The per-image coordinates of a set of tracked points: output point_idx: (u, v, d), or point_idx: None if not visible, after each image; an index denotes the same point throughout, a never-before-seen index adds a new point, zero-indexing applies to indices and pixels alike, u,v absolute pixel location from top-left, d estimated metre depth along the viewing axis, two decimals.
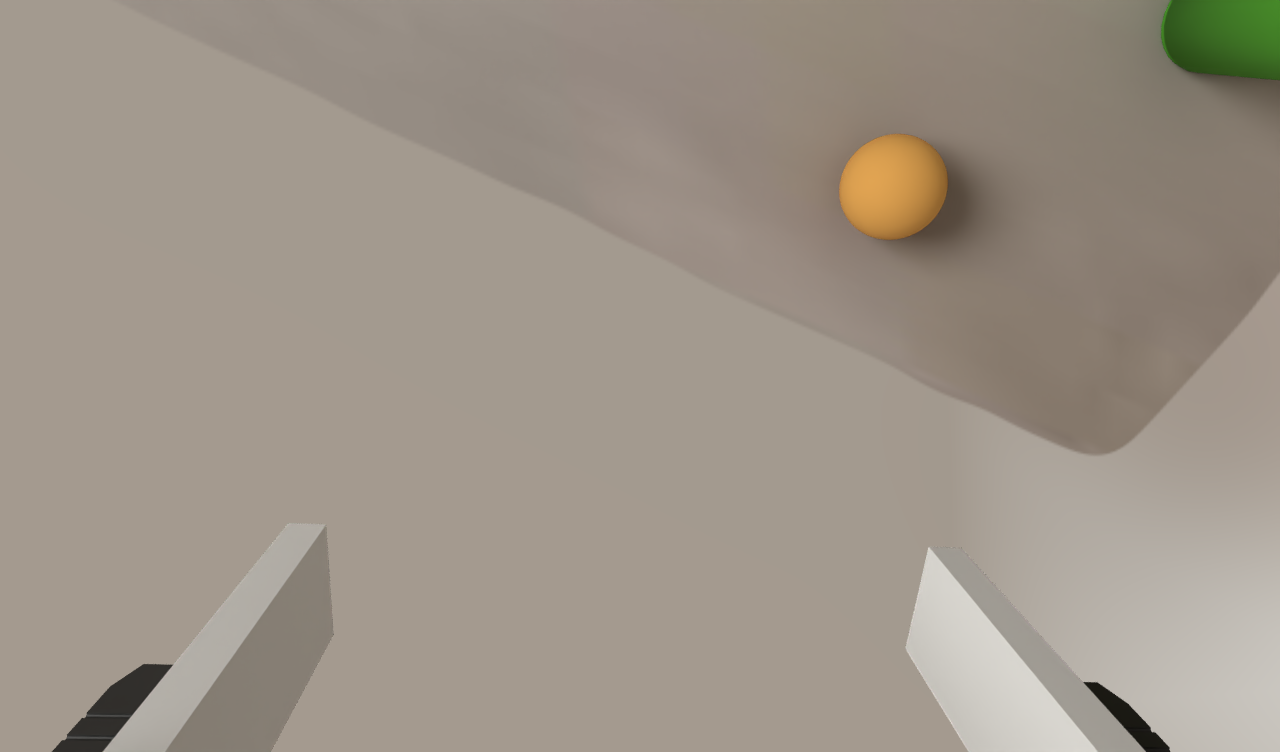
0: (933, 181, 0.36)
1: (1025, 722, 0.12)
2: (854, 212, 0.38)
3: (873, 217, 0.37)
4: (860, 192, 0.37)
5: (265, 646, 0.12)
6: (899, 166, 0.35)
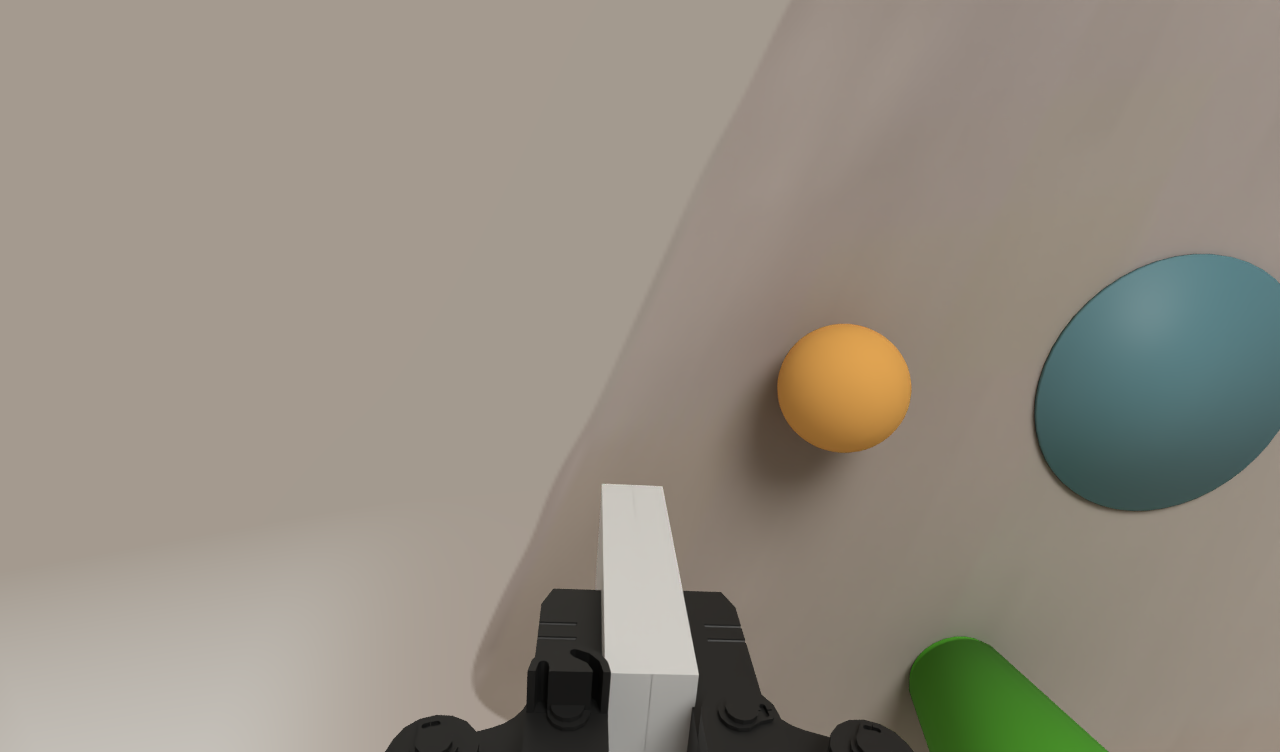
0: (871, 433, 0.28)
1: None
2: (825, 342, 0.29)
3: (826, 366, 0.28)
4: (856, 346, 0.28)
5: None
6: (893, 389, 0.28)
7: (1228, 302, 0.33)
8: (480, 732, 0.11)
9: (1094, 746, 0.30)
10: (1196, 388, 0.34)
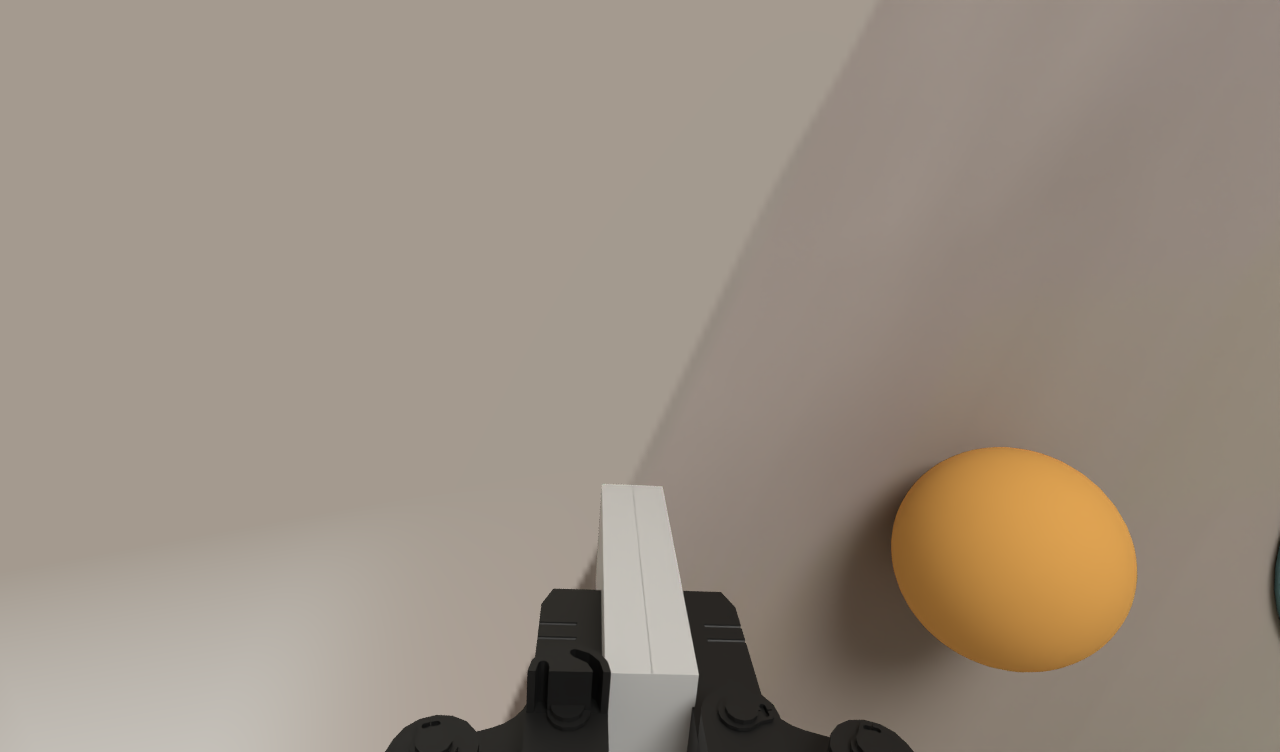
0: (1076, 656, 0.16)
1: None
2: (991, 492, 0.16)
3: (999, 540, 0.16)
4: (1052, 504, 0.16)
5: None
6: (1120, 583, 0.16)
7: None
8: (480, 732, 0.11)
9: None
10: None
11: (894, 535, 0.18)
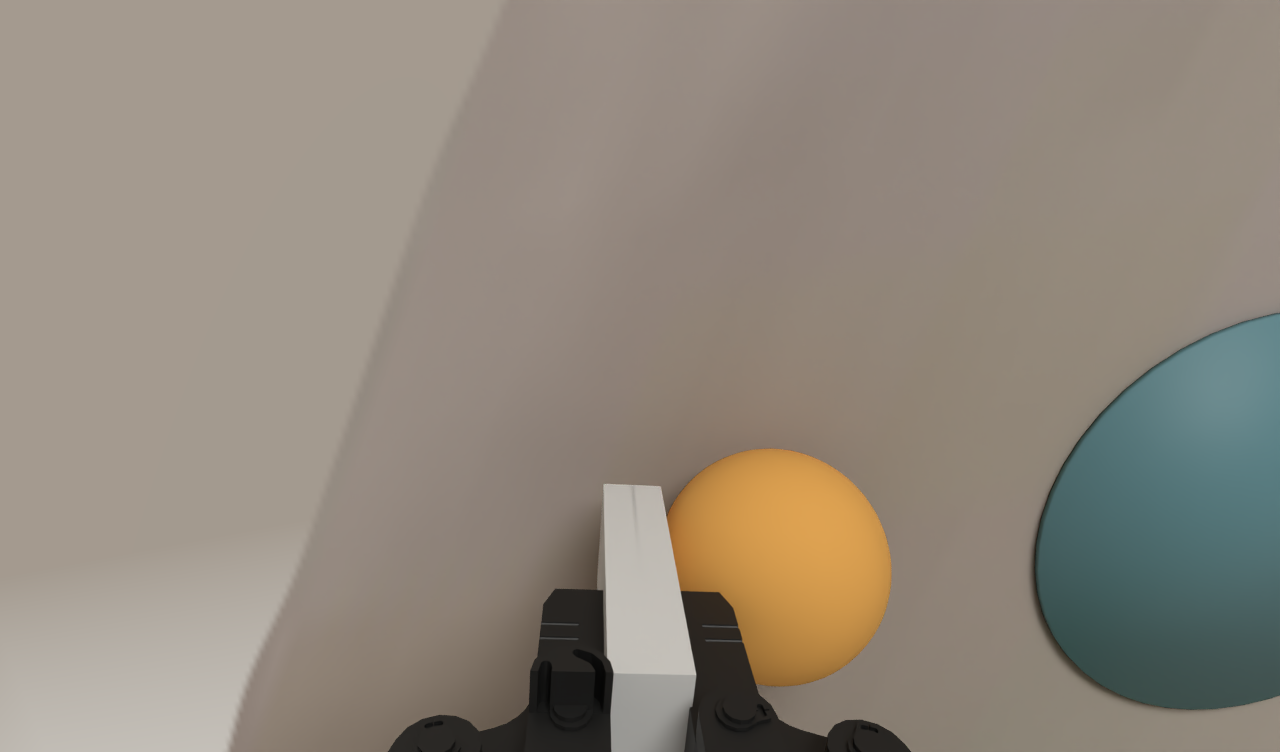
0: (848, 659, 0.16)
1: None
2: (752, 508, 0.15)
3: (766, 561, 0.15)
4: (811, 511, 0.15)
5: None
6: (880, 579, 0.15)
7: None
8: (483, 732, 0.11)
9: None
10: None
11: None
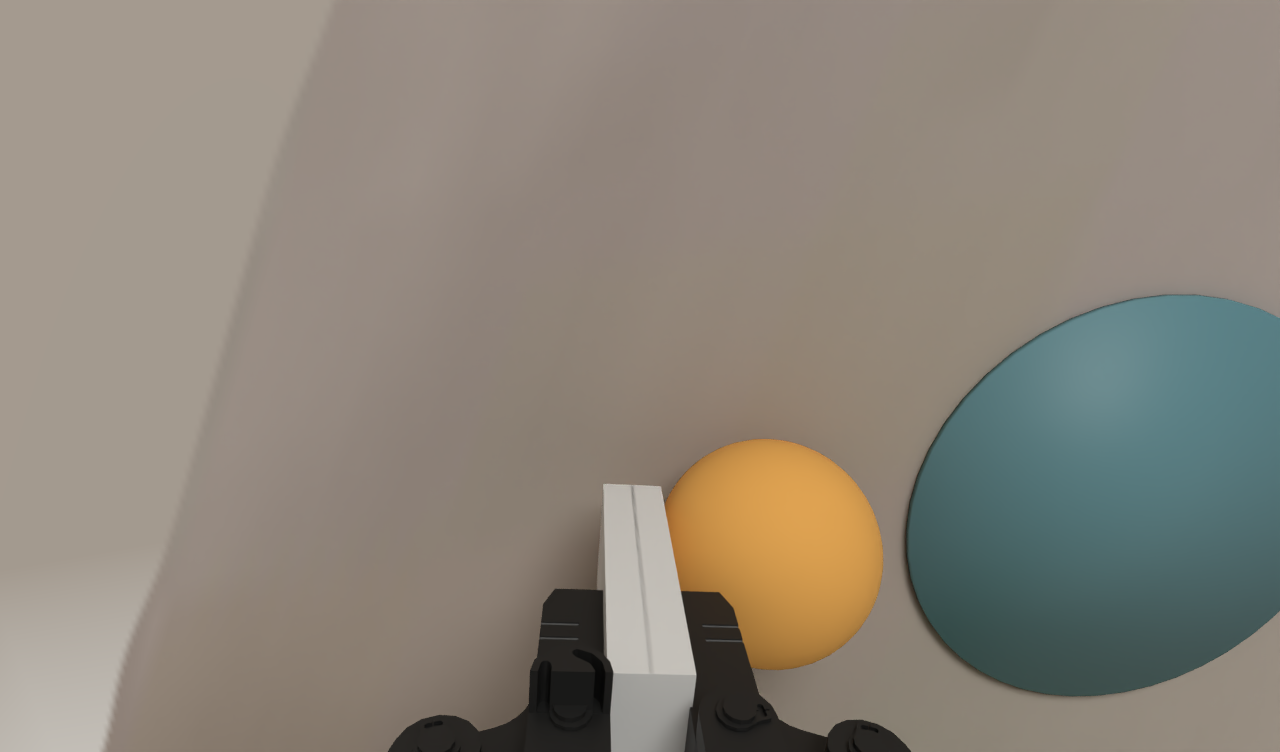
0: None
1: None
2: (777, 504, 0.15)
3: (806, 552, 0.15)
4: (827, 494, 0.16)
5: None
6: (881, 541, 0.17)
7: (1226, 375, 0.19)
8: (482, 732, 0.11)
9: None
10: (1173, 512, 0.21)
11: None
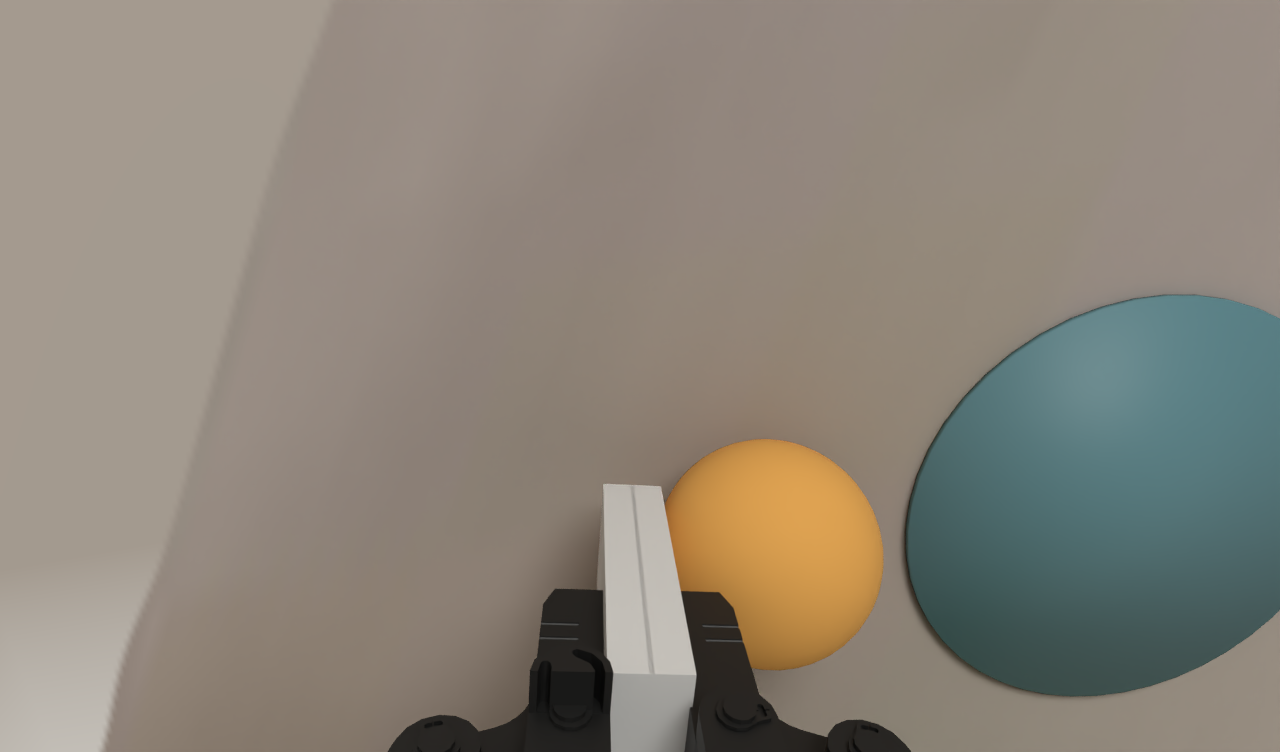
0: None
1: None
2: (777, 504, 0.15)
3: (806, 552, 0.15)
4: (827, 495, 0.16)
5: None
6: (881, 541, 0.17)
7: (1225, 375, 0.19)
8: (482, 732, 0.11)
9: None
10: (1173, 512, 0.21)
11: None
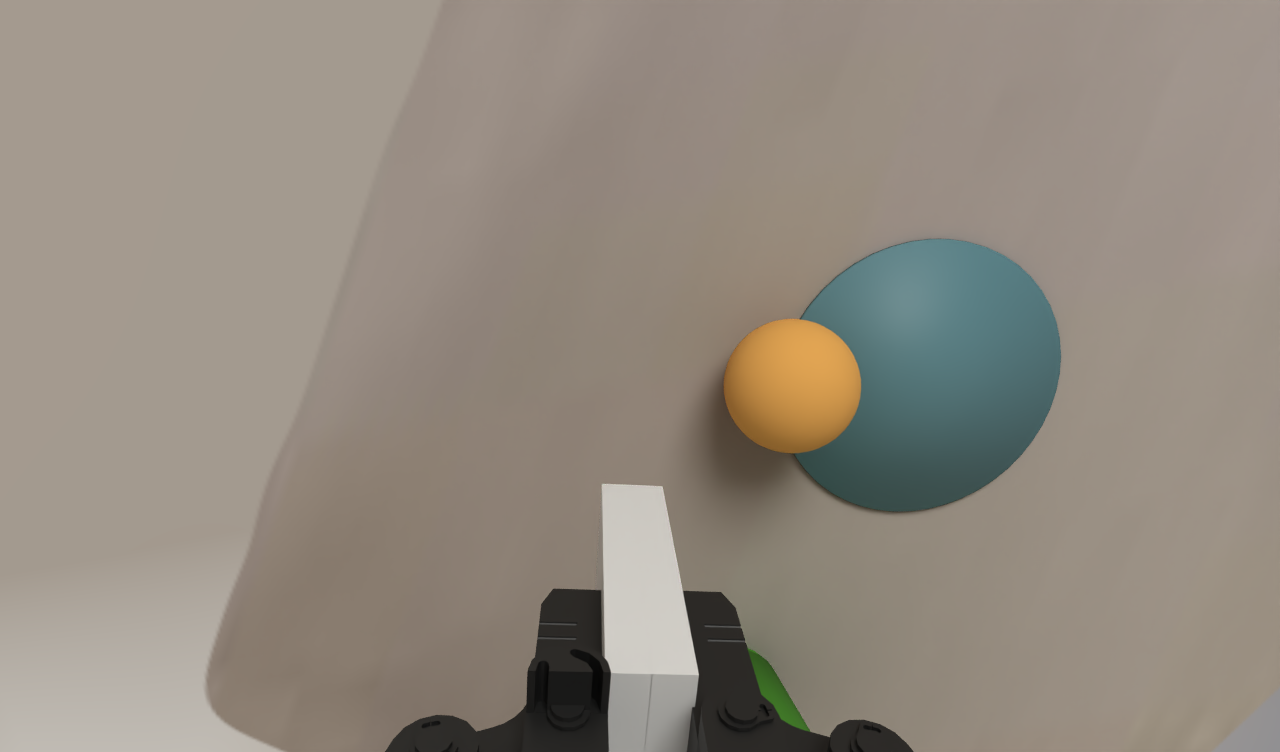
0: None
1: None
2: (833, 332, 0.28)
3: None
4: None
5: None
6: None
7: (971, 290, 0.31)
8: (480, 732, 0.11)
9: None
10: (948, 382, 0.32)
11: (847, 396, 0.27)
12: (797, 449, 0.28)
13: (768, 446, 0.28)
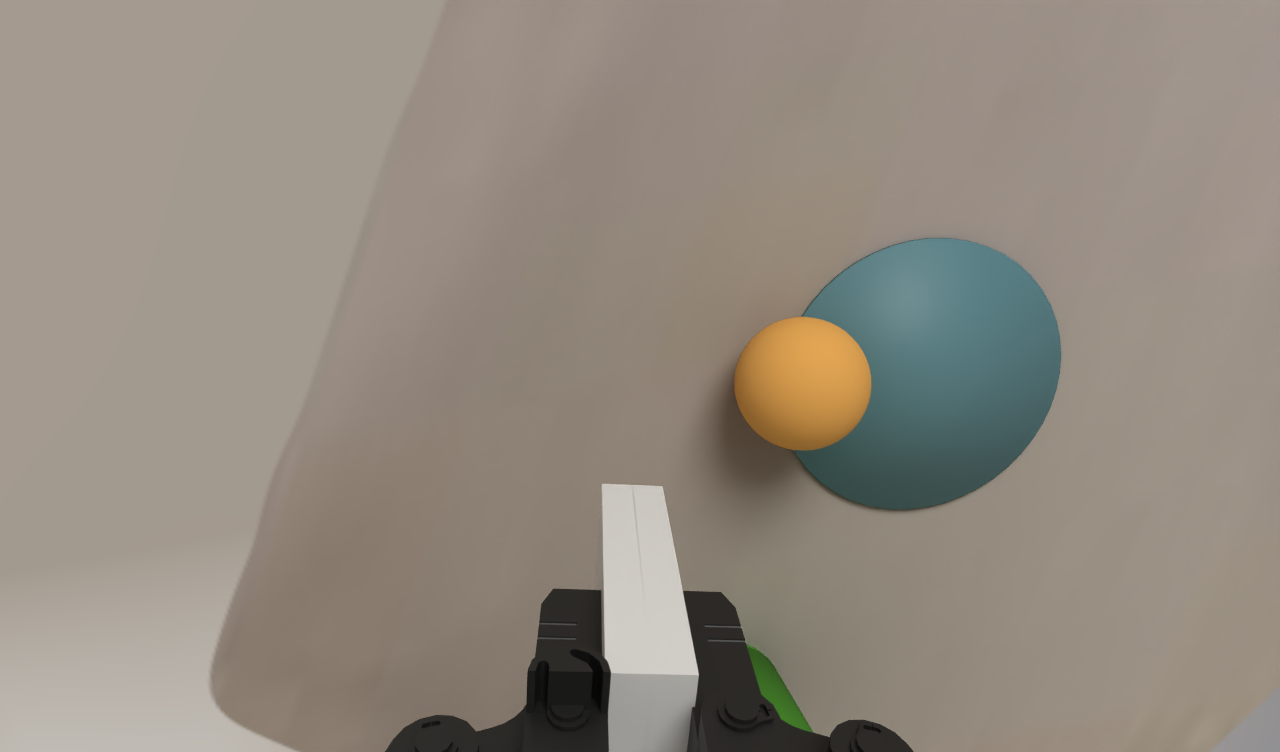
0: None
1: None
2: (841, 329, 0.29)
3: None
4: None
5: None
6: None
7: (971, 289, 0.31)
8: (480, 732, 0.11)
9: None
10: (948, 380, 0.32)
11: (863, 391, 0.27)
12: (815, 446, 0.28)
13: (785, 445, 0.28)
